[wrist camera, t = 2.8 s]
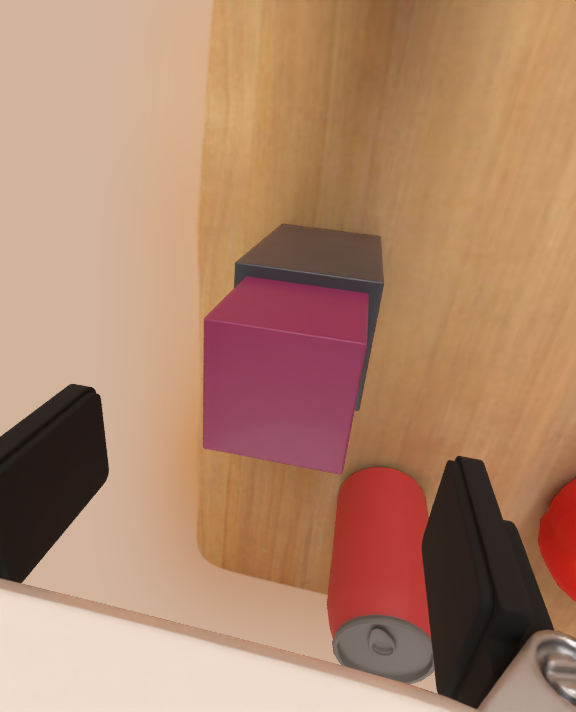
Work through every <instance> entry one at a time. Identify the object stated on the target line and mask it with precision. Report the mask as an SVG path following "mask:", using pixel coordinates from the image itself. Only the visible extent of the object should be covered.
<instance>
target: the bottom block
mask: <svg viewBox="0 0 576 712" xmlns="http://www.w3.org/2000/svg"><path fill="white" fill-rule="evenodd" d="M247 276H249V277H256V278H263V279H270V280H277V281H284V282H291V283H298V284H305V285H312V286H319V287H326V288H333V289H340V290H347V291H355V292H362V293H367V294H369V304H368V330H367V347H366V353H365V358H364V363H363V368H362V374H361V379H360V384H359V390H358V395H357V400H356V405H355V410H356V411H358V410H359V409H360V404H361V399H362V394H363V388H364V383H365V378H366V373H367V368H368V363H369V358H370V353H371V348H372V342H373V337H374V332H375V327H376V322H377V317H378V312H379V307H380V302H381V296H382V291H383V286H384V278H383V264H382V249H381V237H380V236H375V235H367V234H359V233H351V232H343V231H335V230H327V229H319V228H311V227H303V226H295V225H287V224H281V225H280V226H279V227H278V228H277V229H275V230H274V231H273V232H272V233H270V234H269V235H268V236H267V237H266V238H264V239H263V240H262V241H261V242H259V243H258V244H257V245H256V246H255V247H253V248H252V249H251V250H250V251H249V252H247V253H246V254H245V255H244V256H242V257H241V258H240V259H239V260H238V261H236V263H235V280H234V288H235V287H236V286H237V285H238V284H239V283H240V282H241V281H242V280H243V279H244V278H245V277H247Z"/></svg>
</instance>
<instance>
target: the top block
mask: <svg viewBox="0 0 576 712" xmlns="http://www.w3.org/2000/svg"><path fill="white" fill-rule="evenodd" d="M368 304H369V294H367V293H362V292H355V291H347V290H340V289H333V288H326V287H319V286H312V285H305V284H298V283H291V282H284V281H277V280H270V279H263V278H256V277H249V276H247V277H245V278H244V279H243V280H242V281H241V282H240V283H239V284H238V285H237V286H236V287H235V288H234V289H233V290H232V291H231V292H230V293H229V294H228V295H227V296H226V297H225V298H224V299H223V300H222V301H221V302H220V303H219V304H218V305H217V306H216V307H215V308H214V309H213V310H212V311H211V312H210V313H209V314H208V315H207V316H206V317H205V318H204V390H203V447H204V448H205V449H210V450H216V451H221V452H226V453H231V454H236V455H242V456H247V457H252V458H257V459H262V460H268V461H273V462H278V463H283V464H288V465H294V466H299V467H304V468H309V469H314V470H320V471H325V472H330V473H335V474H342V473H343V469H344V463H345V458H346V453H347V447H348V442H349V437H350V432H351V426H352V421H353V416H354V411H355V405H356V400H357V395H358V390H359V384H360V379H361V374H362V368H363V363H364V358H365V353H366V347H367V330H368Z"/></svg>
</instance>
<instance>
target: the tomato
mask: <svg viewBox="0 0 576 712" xmlns="http://www.w3.org/2000/svg"><path fill="white" fill-rule="evenodd" d="M538 542H539V547H540V551H541V555H542V557H543V559H544V561H545V563H546V565H547V567H548V569H549V571H550V573H551V574H552V576H553V578H554V579H555V581H556V583H557V584H558V586H559V587H560V588H561V589H562V590H563V591H564V592H566V593H567V594H568V595H569V596H570V597H571V598H572V599H573V600H574V601H576V478H575V479H574V480H572V481H571V482H570V483H568V484H567V485H566V486H565V487H564V488H563V489H562V490H561V491H560V492H559V493H558V494H557V495H556V496H555V498H554V499H553V500H552V503H551V505H550V508H549V511H548V512H547V513H545V515H544V516H543V517H542V518H541V519H540V529H539V537H538Z"/></svg>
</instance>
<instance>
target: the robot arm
mask: <svg viewBox="0 0 576 712" xmlns="http://www.w3.org/2000/svg"><path fill="white" fill-rule="evenodd" d="M108 473H109V468H108V458H107V449H106V441H105V431H104V422H103V413H102V404H101V398H100V395H99V394H96V391H95V389H94V388H92V387H87V386H82V385H76V384H70V385H69V386H67V387H66V388H65V389H63V390H62V391H60V392H59V393H58V394H56V395H55V396H54V397H52V398H51V399H50V400H49V401H47V402H46V403H45V404H43V405H42V406H41V407H39V408H38V409H37V410H35V411H34V412H33V413H31V414H30V415H29V416H27V417H26V418H25V419H23V420H22V421H21V422H19V423H18V424H17V425H15V426H14V427H13V428H11V429H10V430H9V431H7V432H6V433H5V434H3V435H2V436H1V437H0V712H576V639H575V638H574V637H572V636H569V635H567V634H564V633H562V632H559V631H554V628H553V625H552V622H551V620H550V617H549V614H548V612H547V609H546V606H545V603H544V601H543V598H542V595H541V593H540V590H539V587H538V584H537V582H536V579H535V576H534V573H533V571H532V568H531V565H530V563H529V560H528V557H527V554H526V552H525V549H524V546H523V544H522V541H521V538H520V535H519V533H518V530H517V528H516V526H515V524H514V523H512V522H511V521H506V520H503V518H502V515H501V512H500V509H499V507H498V504H497V501H496V498H495V495H494V492H493V489H492V486H491V483H490V480H489V477H488V474H487V471H486V468H485V465H484V463H483V461H482V460H478V459H472V458H467V457H462V456H457V458H456V459H455V461H451V460H448V462H447V464H446V467H445V470H444V473H443V476H442V479H441V482H440V485H439V488H438V492H437V495H436V498H435V501H434V504H433V507H432V510H431V513H430V517H429V520H428V523H427V526H426V529H425V532H424V535H423V540H422V558H423V568H424V577H425V586H426V596H427V605H428V614H429V623H430V633H431V642H432V651H433V660H434V670H435V678H436V687H437V692H438V694H437V693H434V692H431V691H428V690H424V689H421V688H418V687H415V686H412V685H409V684H406V683H403V682H399V681H395V680H392V679H388V678H385V677H381V676H378V675H374V674H370V673H367V672H363V671H360V670H356V669H352V668H349V667H345V666H342V665H338V664H334V663H330V662H327V661H323V660H319V659H315V658H312V657H308V656H304V655H300V654H296V653H292V652H289V651H285V650H281V649H277V648H273V647H269V646H266V645H261V644H258V643H254V642H250V641H246V640H242V639H239V638H235V637H231V636H227V635H223V634H220V633H216V632H212V631H208V630H204V629H200V628H196V627H192V626H188V625H184V624H180V623H176V622H173V621H169V620H165V619H161V618H157V617H153V616H149V615H145V614H141V613H137V612H133V611H129V610H125V609H121V608H117V607H113V606H110V605H106V604H102V603H97V602H94V601H89V600H85V599H81V598H78V597H73V596H70V595H65V594H61V593H57V592H53V591H49V590H45V589H41V588H37V587H33V586H29V585H25V584H21V583H22V582H23V581H24V580H25V579H26V577H27V576H28V575H29V574H30V572H31V571H32V570H33V569H34V568H35V566H36V565H37V564H38V563H39V562H40V560H41V559H42V558H43V557H44V555H45V554H46V553H47V552H48V551H49V550H50V548H51V547H52V546H53V545H54V544H55V542H56V541H57V540H58V539H59V537H60V536H61V535H62V534H63V533H64V531H65V530H66V529H67V528H68V527H69V525H70V524H71V523H72V522H73V520H74V519H75V518H76V517H77V516H78V515H79V513H80V512H81V511H82V510H83V508H84V507H85V506H86V505H87V504H88V502H89V501H90V500H91V499H92V498H93V496H94V495H95V494H96V493H97V492H98V490H99V489H100V488H101V487H102V486H103V484H104V483H105V481H106V479H107V477H108Z"/></svg>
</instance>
